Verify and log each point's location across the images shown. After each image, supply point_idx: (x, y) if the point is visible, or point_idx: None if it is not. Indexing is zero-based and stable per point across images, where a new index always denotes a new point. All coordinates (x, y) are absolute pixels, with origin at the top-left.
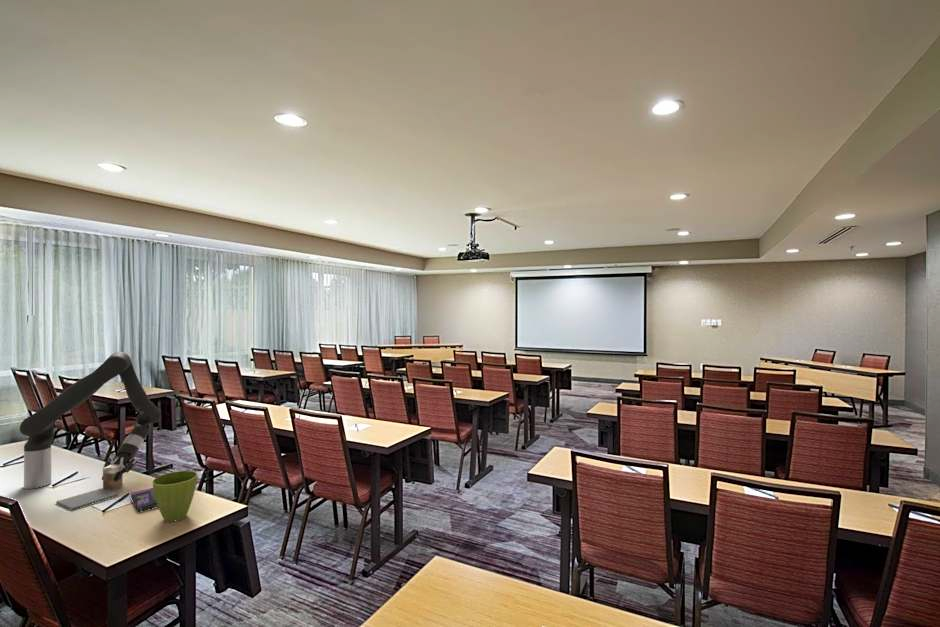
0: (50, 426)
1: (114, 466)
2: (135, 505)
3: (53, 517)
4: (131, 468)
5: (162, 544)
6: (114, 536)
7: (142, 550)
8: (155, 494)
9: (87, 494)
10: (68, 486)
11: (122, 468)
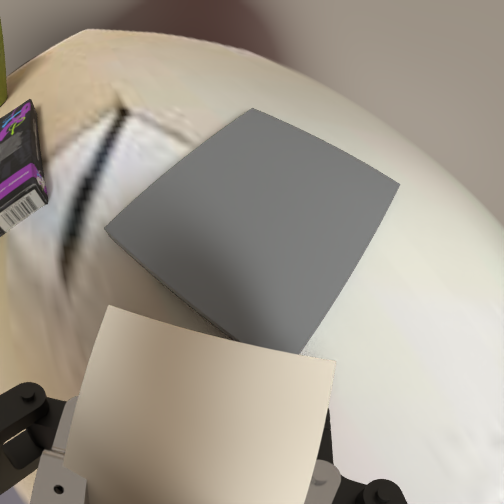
0: None
1: (136, 422)
2: (35, 129)
3: (279, 89)
4: (8, 451)
5: (29, 60)
6: (81, 53)
7: (50, 48)
8: (2, 35)
9: (306, 251)
10: None
11: (60, 432)
